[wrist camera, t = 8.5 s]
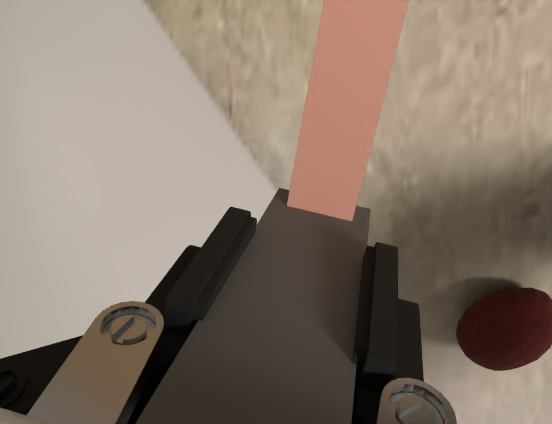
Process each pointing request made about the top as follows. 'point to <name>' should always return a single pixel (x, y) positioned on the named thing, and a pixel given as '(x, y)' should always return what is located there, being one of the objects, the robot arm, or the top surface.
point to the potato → (507, 328)
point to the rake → (298, 255)
